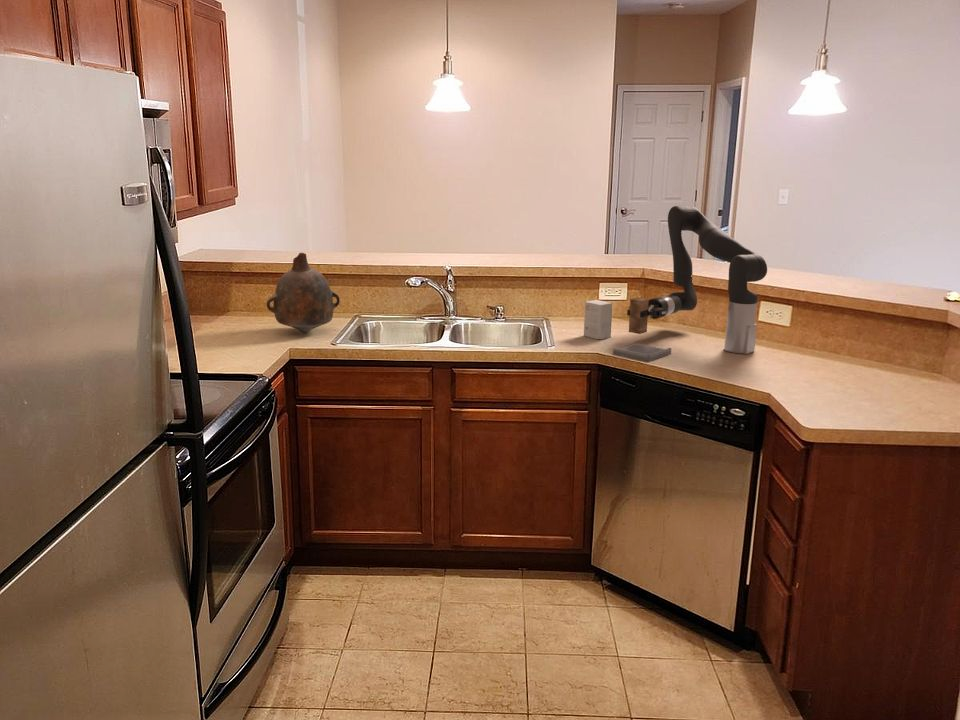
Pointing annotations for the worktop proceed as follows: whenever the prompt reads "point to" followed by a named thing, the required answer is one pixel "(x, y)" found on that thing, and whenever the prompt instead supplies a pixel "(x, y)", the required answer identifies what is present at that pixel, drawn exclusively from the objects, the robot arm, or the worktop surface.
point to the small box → (598, 319)
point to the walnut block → (638, 315)
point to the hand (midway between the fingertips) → (634, 313)
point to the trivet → (642, 352)
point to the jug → (303, 297)
